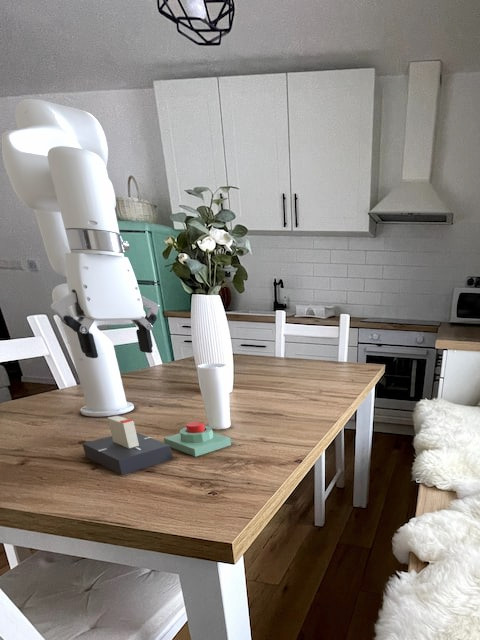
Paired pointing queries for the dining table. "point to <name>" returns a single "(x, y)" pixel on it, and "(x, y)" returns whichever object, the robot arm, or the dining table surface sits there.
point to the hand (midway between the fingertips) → (120, 354)
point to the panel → (127, 453)
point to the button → (195, 427)
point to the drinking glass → (215, 394)
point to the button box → (197, 441)
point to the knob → (123, 431)
